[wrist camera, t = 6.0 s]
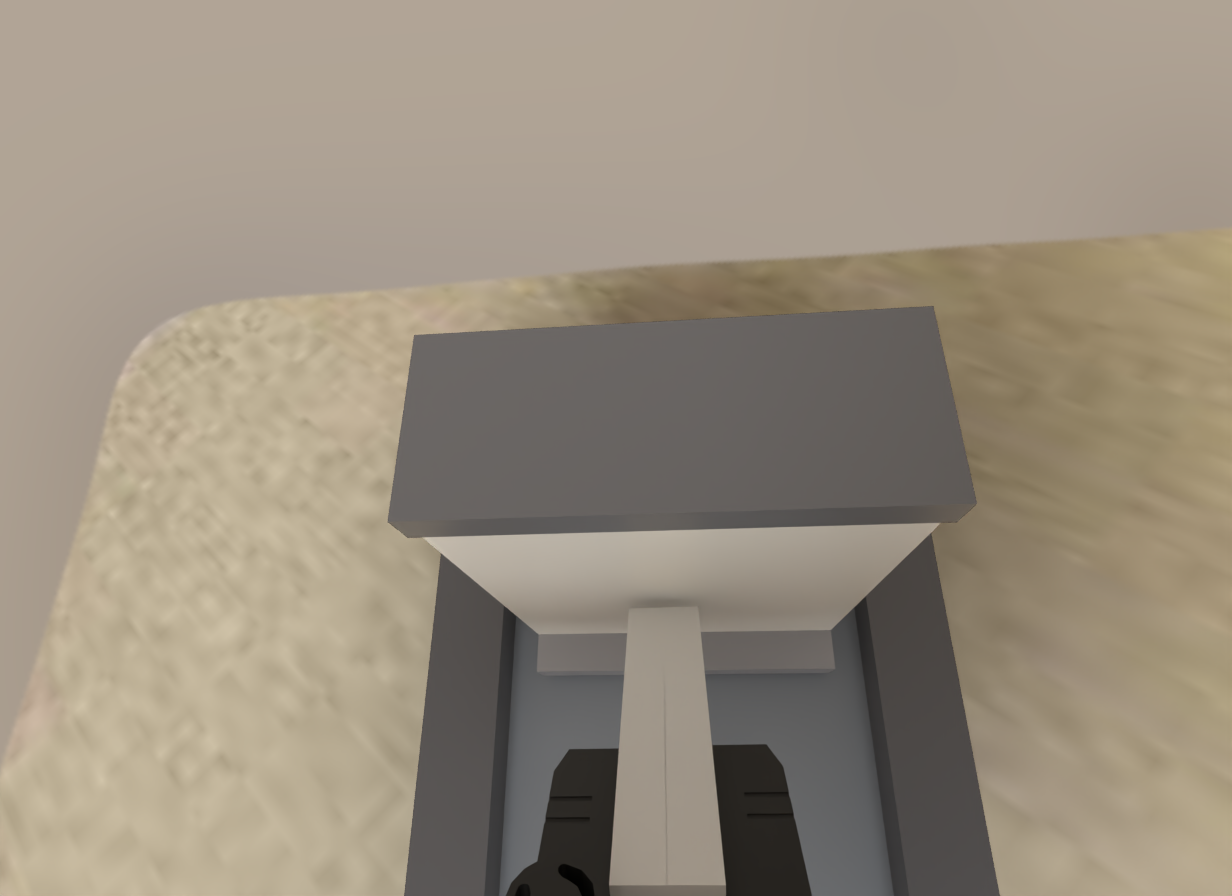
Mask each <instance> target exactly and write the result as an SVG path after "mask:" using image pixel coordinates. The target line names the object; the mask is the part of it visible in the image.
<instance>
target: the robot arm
mask: <svg viewBox="0 0 1232 896" xmlns="http://www.w3.org/2000/svg"><path fill="white" fill-rule="evenodd" d="M506 896H812V893H811V889H810V884H809V880H808V875H807V871H806V866H805V862H804V857H803V853H802V848H801V844H800V839H799V835H798V830H797V826H796V821H795V819H794V812H793V808H792V803H791V799H790V797H789V790H788V785H787V781H786V776H785V772H784V767H783V765H782V764H781V763H780V761H779V760H778V759H777V757H776V756H775V755H774V753H773V752H772V751H771V750H770V748H769V747H768V746H767V744H746V745H712V741H711V730H710V720H709V710H708V700H707V690H706V680H705V670H704V660H703V650H702V640H701V630H700V620H699V610H698V606H695V607H663V608H631V609H629V616H628V630H627V644H626V658H625V672H624V685H623V699H622V713H621V727H620V741H619V748H612V749H569V750H568V752H567V753H566V754H565V756H564V757H563V759H562V760H561V762H560V763H559V764H558V766H557V767H556V769H555V770H554V773H553V778H552V784H551V789H550V795H549V802H548V805H547V811H546V816H545V823H544V827H543V833H542V838H541V844H540V849H539V854H538V860H537V862H535V863H533V864H532V865H530V866H528V867H526V868H524V870H523V871H522V872H521V873H520V874H519V875H518V876H517V877H516V878H515V879H514V880H513V881H512V882H511V884H510V887H509V889H508V891H507V894H506Z"/></svg>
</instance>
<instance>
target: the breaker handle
mask: <svg viewBox="0 0 1232 896" xmlns="http://www.w3.org/2000/svg"><path fill="white" fill-rule="evenodd" d="M976 504H977V501H976V497H975V492H974V488H973V483H972V479H971V474H970V470H969V465H968V461H967V456H966V452H965V447H964V443H963V438H962V434H961V429H960V425H959V420H958V416H957V411H956V407H955V402H954V398H953V393H952V389H951V384H950V380H949V375H948V371H947V366H946V361H945V357H944V352H943V348H942V343H941V339H940V334H939V330H938V325H937V321H936V316H935V312H934V307H933V306H927V307H909V308H891V309H873V310H855V311H838V312H820V313H802V314H784V315H766V316H748V317H730V318H712V319H694V320H676V321H659V322H641V323H623V324H605V325H587V326H569V327H551V328H533V329H515V330H498V331H480V332H462V333H444V334H426V335H414V340H413V347H412V354H411V361H410V368H409V375H408V382H407V389H406V396H405V403H404V410H403V417H402V424H401V431H400V438H399V445H398V452H397V459H396V466H395V473H394V480H393V487H392V494H391V501H390V508H389V515H388V522H389V523H390V524H391V525H392V526H394V527H395V528H396V529H397V530H399V531H400V532H401V533H403V534H404V535H405V536H406V537H408V538H420V537H422V538H423V539H425V540H426V541H427V542H428V543H429V544H431V545H432V546H433V547H434V548H435V549H437V550H438V551H439V552H440V553H441V554H443V555H444V556H445V557H446V558H447V559H449V560H450V561H451V562H452V563H453V564H455V565H456V566H457V567H458V568H459V569H461V570H462V571H463V572H464V573H466V574H467V575H468V576H469V577H470V578H472V579H473V580H474V581H475V582H476V583H478V584H479V585H480V586H481V587H482V588H484V589H485V590H486V591H487V592H488V593H490V594H491V595H492V596H493V597H494V598H496V599H497V600H498V601H499V602H500V603H502V604H503V605H504V606H505V607H506V608H508V609H509V610H510V611H511V612H512V613H514V614H515V615H516V616H517V617H518V618H520V619H521V620H522V621H523V622H524V623H526V624H527V625H528V626H529V627H530V628H532V629H533V630H534V631H535V632H536V633H538V634H539V637H538V659H537V672H538V673H540V674H542V675H544V676H567V675H624V672H625V658H626V644H627V630H628V616H629V609H631V608H663V607H695V606H698V610H699V620H700V630H701V640H702V650H703V660H704V670H705V674H784V673H830V672H831V671H833V670H834V669H835V661H834V653H833V645H832V636H831V629H832V628H833V627H834V626H835V625H836V624H837V623H839V622H840V621H841V620H842V619H843V618H844V617H845V616H846V615H847V614H848V613H849V612H850V611H851V610H852V609H853V608H854V607H855V606H856V605H857V604H858V603H859V602H860V601H861V600H862V599H863V598H864V597H865V596H866V595H867V594H868V593H869V592H870V591H871V590H872V589H874V588H875V587H876V586H877V585H878V584H879V583H880V582H881V581H882V580H883V579H884V578H885V577H886V576H887V575H888V574H889V573H890V572H891V571H892V570H893V569H894V568H895V567H896V566H897V565H898V564H899V563H900V562H901V561H902V560H903V559H904V558H905V557H906V556H907V555H909V554H910V553H911V552H912V551H913V550H914V549H915V548H916V547H917V546H918V545H919V544H920V543H921V542H922V541H923V540H924V539H925V538H926V537H927V536H928V535H929V534H930V533H931V532H932V531H933V530H934V529H935V528H936V527H937V526H938V525H939V524H940V523H951V522H958V521H959V520H960V519H961V518H962V517H963V516H964V515H965V514H966V513H967V512H969V511H970V510H971V509H972V508H973V507H974V506H975V505H976Z"/></svg>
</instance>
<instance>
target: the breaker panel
mask: <svg viewBox="0 0 1232 896" xmlns="http://www.w3.org/2000/svg"><path fill="white" fill-rule="evenodd" d="M831 636H832V645H833V653H834V661H835V669H834V670H833V671H831V672H830V673H784V674H705V680H706V690H707V700H708V710H709V720H710V730H711V741H712V745H746V744H767V746H768V747H769V748H770V750H771V751H772V752H773V753H774V755H775V756H776V757H777V759H778V760H779V761H780V763H781V764H782V765H783V767H784V772H785V776H786V781H787V785H788V790H789V797H790V799H791V803H792V808H793V812H794V819H795V821H796V826H797V830H798V835H799V839H800V844H801V848H802V853H803V857H804V862H805V866H806V871H807V875H808V880H809V884H810V889H811V893H812V896H1000V895H999V889H998V884H997V879H996V874H995V868H994V863H993V858H992V852H991V847H990V842H989V837H988V831H987V826H986V821H985V816H984V810H983V805H982V800H981V794H980V789H979V784H978V779H977V773H976V768H975V763H974V758H973V752H972V747H971V742H970V736H969V731H968V726H967V721H966V715H965V710H964V705H963V700H962V694H961V689H960V684H959V678H958V673H957V668H956V663H955V657H954V652H953V647H952V642H951V636H950V631H949V626H948V620H947V615H946V610H945V605H944V599H943V594H942V589H941V584H940V578H939V573H938V568H937V562H936V557H935V552H934V547H933V541H932V536H931V533H930V534H929V535H928V536H927V537H926V538H925V539H924V540H923V541H922V542H921V543H920V544H919V545H918V546H917V547H916V548H915V549H914V550H913V551H912V552H911V553H910V554H909V555H907V556H906V557H905V558H904V559H903V560H902V561H901V562H900V563H899V564H898V565H897V566H896V567H895V568H894V569H893V570H892V571H891V572H890V573H889V574H888V575H887V576H886V577H885V578H884V579H883V580H882V581H881V582H880V583H879V584H878V585H877V586H876V587H875V588H874V589H872V590H871V591H870V592H869V593H868V594H867V595H866V596H865V597H864V598H863V599H862V600H861V601H860V602H859V603H858V604H857V605H856V606H855V607H854V608H853V609H852V610H851V611H850V612H849V613H848V614H847V615H846V616H845V617H844V618H843V619H842V620H841V621H840V622H839V623H837V624H836V625H835V626H834V627H833V628H832V629H831ZM538 637H539V634H538V633H536V632H535V631H534V630H533V629H532V628H530V627H529V626H528V625H527V624H526V623H524V622H523V621H522V620H521V619H520V618H518V617H517V616H516V615H515V614H514V613H512V612H511V611H510V610H509V609H508V608H506V607H505V606H504V605H503V604H502V603H500V602H499V601H498V600H497V599H496V598H494V597H493V596H492V595H491V594H490V593H488V592H487V591H486V590H485V589H484V588H482V587H481V586H480V585H479V584H478V583H476V582H475V581H474V580H473V579H472V578H470V577H469V576H468V575H467V574H466V573H464V572H463V571H462V570H461V569H459V568H458V567H457V566H456V565H455V564H453V563H452V562H451V561H450V560H449V559H447V558H446V557H445V556H444V555H443V554H441V559H440V568H439V577H438V587H437V596H436V605H435V615H434V624H433V633H432V642H431V652H430V661H429V670H428V680H427V689H426V698H425V707H424V717H423V726H422V735H421V745H420V754H419V763H418V773H417V782H416V791H415V800H414V810H413V819H412V828H411V838H410V847H409V856H408V865H407V875H406V884H405V893H404V896H506V894H507V891H508V889H509V887H510V884H511V882H512V881H513V880H514V879H515V878H516V877H517V876H518V875H519V874H520V873H521V872H522V871H523V870H524V868H526V867H528V866H530V865H532V864H533V863H535V862H537V860H538V854H539V849H540V844H541V838H542V833H543V827H544V823H545V816H546V811H547V805H548V802H549V795H550V789H551V784H552V778H553V773H554V770H555V769H556V767H557V766H558V764H559V763H560V762H561V760H562V759H563V757H564V756H565V754H566V753H567V752H568V750H569V749H612V748H619V741H620V727H621V713H622V699H623V685H624V675H567V676H544V675H542V674H540V673H538V672H537V659H538Z"/></svg>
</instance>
